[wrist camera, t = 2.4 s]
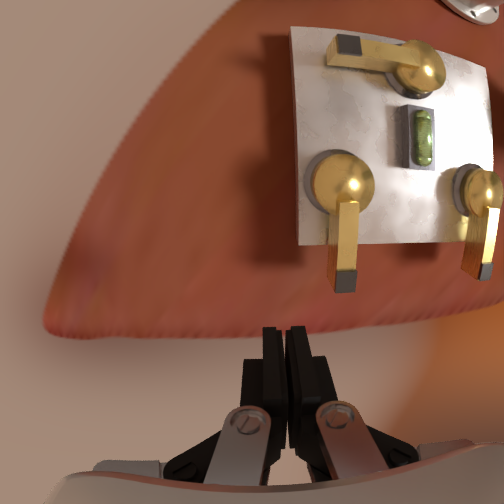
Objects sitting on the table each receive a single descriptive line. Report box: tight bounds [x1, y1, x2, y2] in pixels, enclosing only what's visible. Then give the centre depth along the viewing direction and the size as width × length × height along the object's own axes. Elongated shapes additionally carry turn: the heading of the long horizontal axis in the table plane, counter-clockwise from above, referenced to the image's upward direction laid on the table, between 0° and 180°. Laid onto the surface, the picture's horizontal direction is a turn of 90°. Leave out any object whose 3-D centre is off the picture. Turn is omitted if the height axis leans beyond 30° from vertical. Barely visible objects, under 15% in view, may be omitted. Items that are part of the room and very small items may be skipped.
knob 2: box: [460, 168, 503, 281], centre depth 20 cm, size 10×4×3 cm, turn 2°
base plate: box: [288, 26, 493, 245], centre depth 20 cm, size 18×20×4 cm
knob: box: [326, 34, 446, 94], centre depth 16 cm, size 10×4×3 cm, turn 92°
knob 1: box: [310, 154, 375, 293], centre depth 20 cm, size 10×4×3 cm, turn 2°
